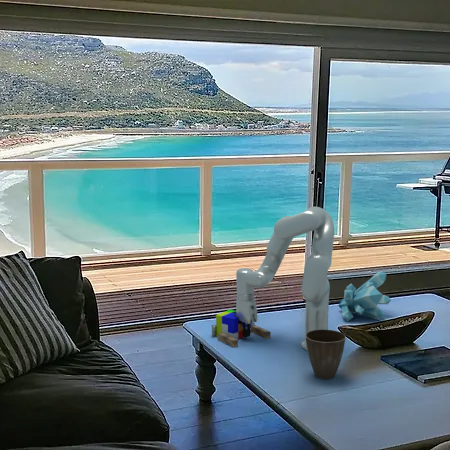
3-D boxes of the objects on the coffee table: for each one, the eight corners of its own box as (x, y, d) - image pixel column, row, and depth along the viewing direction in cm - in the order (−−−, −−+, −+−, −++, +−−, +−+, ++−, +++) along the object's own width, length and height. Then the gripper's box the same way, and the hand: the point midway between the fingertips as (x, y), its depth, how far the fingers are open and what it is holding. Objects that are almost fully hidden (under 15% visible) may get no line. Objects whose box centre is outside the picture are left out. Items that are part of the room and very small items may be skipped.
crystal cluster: (391, 327, 304) (390, 285, 299) (335, 326, 310) (334, 284, 306) (391, 310, 325) (390, 270, 320) (338, 309, 331) (337, 270, 326)
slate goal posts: (248, 328, 303) (248, 318, 302) (213, 337, 292) (213, 326, 291) (245, 327, 304) (245, 317, 304) (211, 336, 293) (210, 325, 292)
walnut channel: (270, 338, 290) (270, 331, 289) (234, 347, 279) (234, 340, 278) (254, 331, 300) (254, 324, 299) (218, 339, 288) (218, 333, 288)
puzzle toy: (233, 341, 287) (233, 319, 285) (216, 336, 293) (216, 314, 292) (247, 334, 295) (247, 313, 293) (230, 330, 301) (229, 309, 299)
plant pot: (297, 372, 252) (298, 332, 249) (330, 365, 258) (331, 327, 255) (318, 386, 238) (318, 344, 236) (352, 379, 244) (353, 338, 241)
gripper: (262, 298, 282) (263, 339, 285) (242, 291, 294) (243, 330, 297) (249, 301, 277) (250, 343, 280) (228, 294, 289) (229, 334, 292)
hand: (246, 336), depth 288 cm, fingers closed
